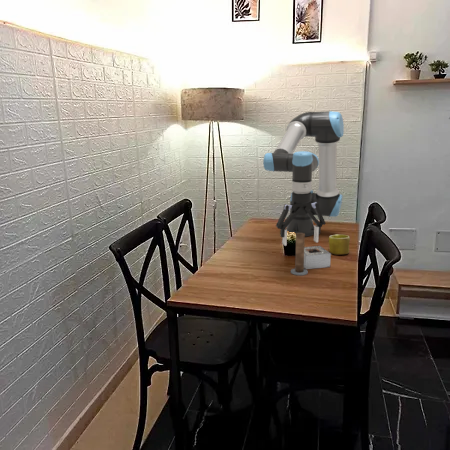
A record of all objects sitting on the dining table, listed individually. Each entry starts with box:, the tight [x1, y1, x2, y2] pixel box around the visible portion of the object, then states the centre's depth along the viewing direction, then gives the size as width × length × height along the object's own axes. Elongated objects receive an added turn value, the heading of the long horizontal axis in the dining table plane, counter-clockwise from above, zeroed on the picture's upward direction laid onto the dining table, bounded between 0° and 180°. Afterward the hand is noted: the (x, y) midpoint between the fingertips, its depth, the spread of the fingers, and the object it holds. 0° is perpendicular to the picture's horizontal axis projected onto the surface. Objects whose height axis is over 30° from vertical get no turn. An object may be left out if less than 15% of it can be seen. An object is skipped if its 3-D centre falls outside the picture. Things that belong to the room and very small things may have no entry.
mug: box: [328, 233, 351, 256], centre depth 203 cm, size 12×10×10 cm
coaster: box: [290, 267, 309, 277], centre depth 180 cm, size 7×7×1 cm
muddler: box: [294, 233, 306, 273], centre depth 178 cm, size 3×3×16 cm
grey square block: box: [304, 245, 332, 270], centre depth 189 cm, size 11×11×6 cm
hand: (300, 243), depth 177 cm, fingers open, 13 cm apart
